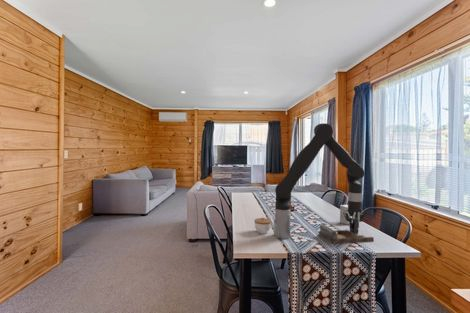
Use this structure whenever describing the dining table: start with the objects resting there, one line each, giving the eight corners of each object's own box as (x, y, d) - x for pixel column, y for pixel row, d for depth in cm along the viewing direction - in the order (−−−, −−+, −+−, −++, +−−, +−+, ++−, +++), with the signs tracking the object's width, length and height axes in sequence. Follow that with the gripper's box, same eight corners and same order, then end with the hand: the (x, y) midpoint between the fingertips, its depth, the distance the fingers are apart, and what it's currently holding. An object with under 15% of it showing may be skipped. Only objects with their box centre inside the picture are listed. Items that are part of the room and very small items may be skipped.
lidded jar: (274, 232, 152) (274, 218, 152) (263, 236, 145) (263, 221, 145) (262, 228, 160) (262, 214, 160) (250, 231, 153) (251, 217, 153)
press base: (331, 245, 131) (332, 232, 131) (318, 236, 145) (319, 224, 145) (373, 243, 135) (373, 230, 135) (357, 234, 149) (357, 223, 149)
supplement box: (347, 221, 179) (347, 204, 179) (355, 223, 172) (355, 206, 172) (339, 221, 177) (339, 205, 176) (347, 224, 170) (347, 207, 169)
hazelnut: (332, 239, 137) (332, 233, 137) (328, 237, 141) (328, 231, 141) (338, 239, 137) (338, 233, 137) (335, 236, 141) (335, 231, 141)
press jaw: (357, 240, 135) (357, 221, 135) (345, 233, 146) (345, 216, 146) (363, 240, 136) (363, 221, 136) (350, 233, 147) (351, 216, 147)
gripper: (348, 201, 136) (347, 231, 136) (369, 201, 138) (369, 230, 138) (340, 198, 143) (339, 227, 143) (360, 198, 145) (360, 226, 146)
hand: (354, 228), depth 141 cm, fingers closed on press jaw, 2 cm apart
